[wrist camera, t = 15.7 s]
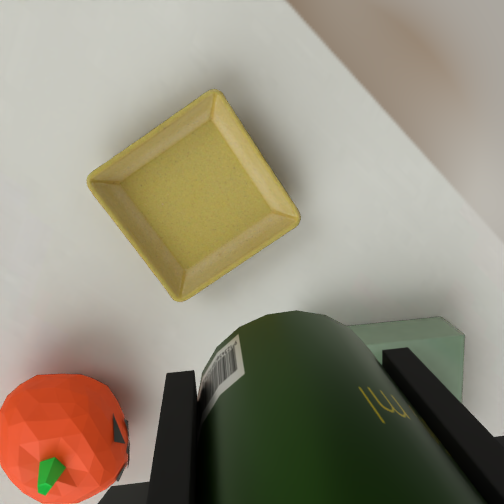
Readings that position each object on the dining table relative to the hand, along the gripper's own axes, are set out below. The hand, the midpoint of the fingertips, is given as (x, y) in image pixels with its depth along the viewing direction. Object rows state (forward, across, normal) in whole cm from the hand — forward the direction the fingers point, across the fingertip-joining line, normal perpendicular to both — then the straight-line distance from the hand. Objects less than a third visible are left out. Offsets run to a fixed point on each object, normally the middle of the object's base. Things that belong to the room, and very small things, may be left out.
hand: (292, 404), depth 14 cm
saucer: (+16, -2, +4) cm, 17 cm away
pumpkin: (+16, -12, -9) cm, 22 cm away
